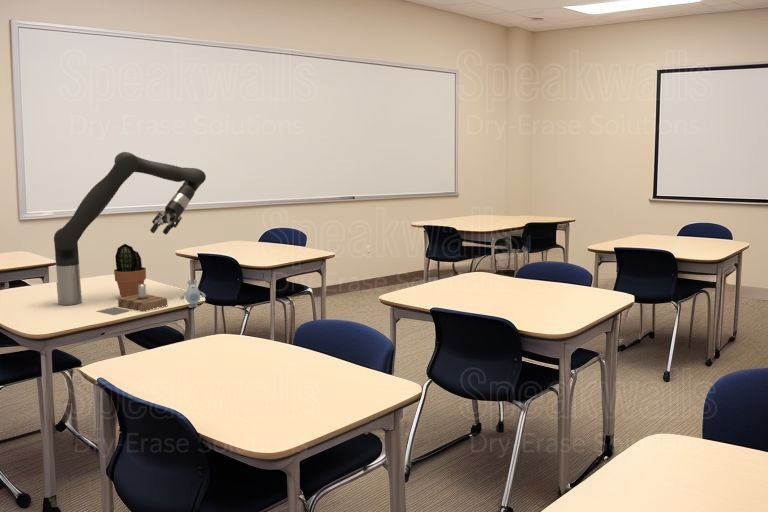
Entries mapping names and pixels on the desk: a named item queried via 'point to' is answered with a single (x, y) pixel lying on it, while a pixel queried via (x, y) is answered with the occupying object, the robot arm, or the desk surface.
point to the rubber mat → (114, 311)
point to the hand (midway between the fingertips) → (158, 232)
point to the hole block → (142, 302)
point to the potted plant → (128, 271)
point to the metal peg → (142, 291)
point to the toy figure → (192, 294)
